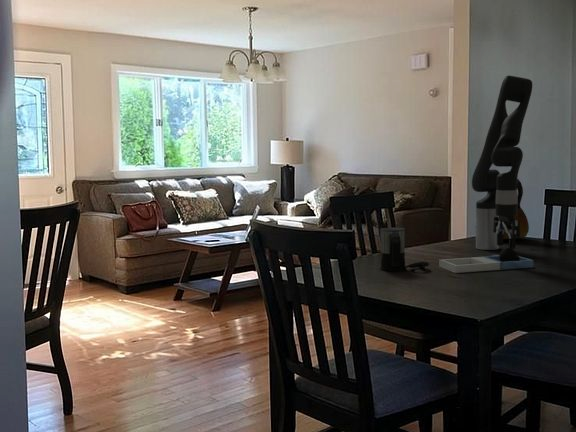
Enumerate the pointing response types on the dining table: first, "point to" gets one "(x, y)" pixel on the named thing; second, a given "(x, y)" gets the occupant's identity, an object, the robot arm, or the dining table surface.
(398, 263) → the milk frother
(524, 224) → the ceramic pitcher
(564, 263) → the dining table surface
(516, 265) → the two-tone divided frame
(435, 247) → the dining table surface
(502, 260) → the light bulb
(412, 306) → the dining table surface
